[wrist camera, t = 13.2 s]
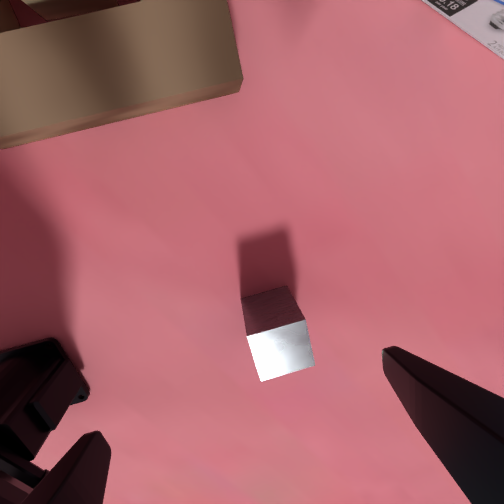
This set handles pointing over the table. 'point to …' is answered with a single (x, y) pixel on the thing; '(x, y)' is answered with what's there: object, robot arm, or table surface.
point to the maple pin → (68, 7)
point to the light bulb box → (476, 19)
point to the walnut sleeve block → (112, 66)
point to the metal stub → (277, 333)
